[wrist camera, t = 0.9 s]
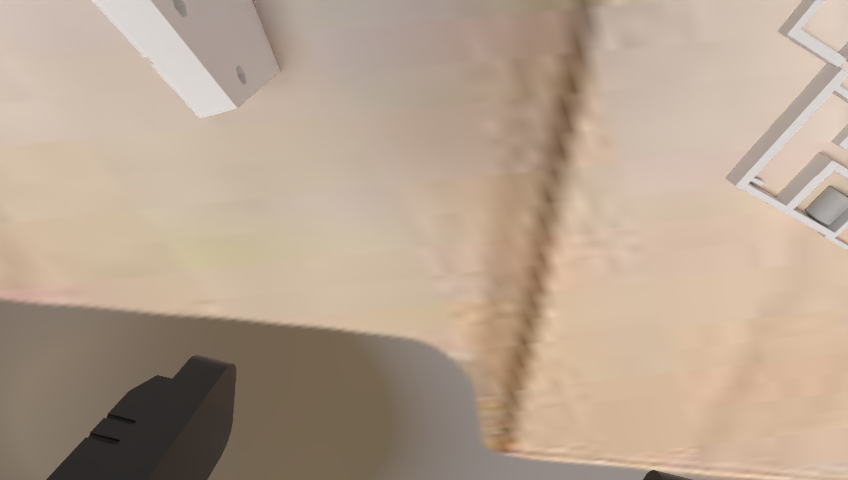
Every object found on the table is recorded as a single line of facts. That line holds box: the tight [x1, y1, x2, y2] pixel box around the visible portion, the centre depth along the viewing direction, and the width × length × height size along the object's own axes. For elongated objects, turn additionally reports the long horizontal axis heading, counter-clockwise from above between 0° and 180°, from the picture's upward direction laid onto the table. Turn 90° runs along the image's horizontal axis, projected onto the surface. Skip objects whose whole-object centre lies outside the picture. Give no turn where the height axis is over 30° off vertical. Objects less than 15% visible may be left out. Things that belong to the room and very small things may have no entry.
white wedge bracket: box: [92, 0, 280, 118], centre depth 24 cm, size 4×10×9 cm, turn 15°
